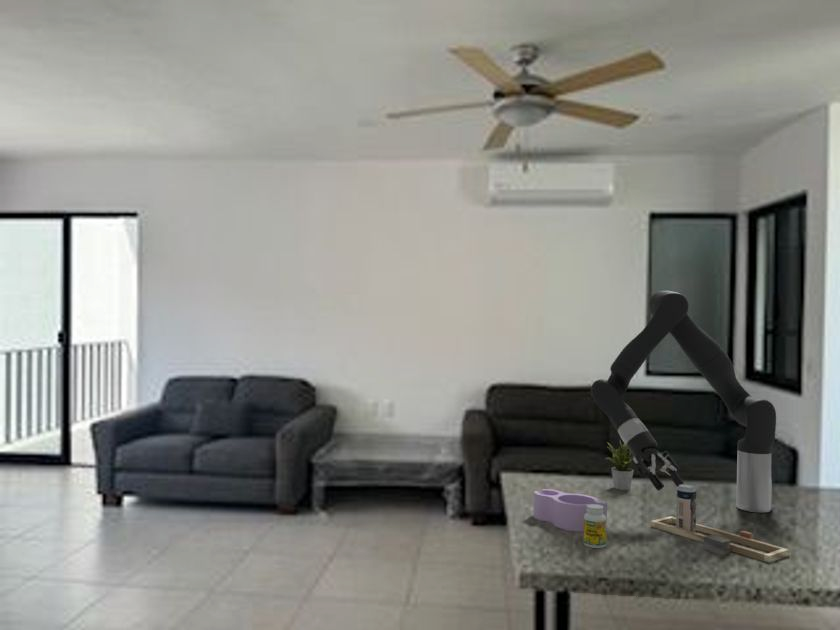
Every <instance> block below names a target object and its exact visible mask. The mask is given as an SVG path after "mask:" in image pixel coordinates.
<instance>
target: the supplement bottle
mask: <svg viewBox="0 0 840 630" xmlns="http://www.w3.org/2000/svg"><path fill="white" fill-rule="evenodd" d="M587 512H588V513H586V514H585V515H584V531H583V544H584V546H586V547H588V548H592V549H602V548H605V547H606V545H607V528H606V517H605V515H603V514H602V513H603V506H601V505H597V504H589V505H587Z"/></svg>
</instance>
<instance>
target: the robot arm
mask: <svg viewBox="0 0 840 630" xmlns="http://www.w3.org/2000/svg"><path fill="white" fill-rule="evenodd" d="M648 306H649V311H650V313H651V315H652V317H651V319H650V321H648V323H647V325H645V327H644V328H643V329H642V330H641V331H640V332H639V333H638V334H637V335H636V336H635V337H634V338H633V339H632V340H630V341H629V342H628V344H626V345H625V346H624V348H623V349H622V350H621V351H620V353H619V354H618V355H617V357H616V358H615V359H614V361H613V362H612V363H611V366H610V375H609V377H608V379H603V378H602V379H597V380H595V381H594V382H593V383H592V385H591V386H590V395H591V398H592V399H593V401H594V402H595V403H596V404H597V406H598V407H599V409H600V410H601V411H603V413H604V414H605V416H607V417H608V419H609V420H610V422H611V424H612V425H613V427H614V428H615V430H616V431H617V433H618V435H619V436H620V439H621V440H622V442H623V444H624V443H625V444H626V446H627V447H628V449H627V450H629V451H630V452H631V453H632V455H631V456H632V457H633V456H634V458H633V459H632V460H631V461H632V462H631V463H632V465H633V466H634V467H635V469H636V471H637V472H638V474H639V476H640V477H641V478H642V479H644V478H646V479H647V480H650V482H651V484H652V485H653V487H654V488H655V489H656V490H657V491H662V490H663V488H665V485H664V483H663V482H662V480H661V479H660V477H659V476H658V475H657V474H656V470H657V471H660V472H663V473H666V474H667V475H668V476H669V477H670V479H671V480H672V482H673V483H674V485H675V486H676V487H677V488H678V486H679V485H681V484H684V483H685V482H684V480H683V479H682V477H681V475H679V473H678V470H679V469H680V466H679V464H678V463H677V461H676V460H675V459H674V458H673V456H672V455H671V453H669V451H668V450H664V451H663V452H660V450H658V445H659V444H658V442H657V440H655V438H654V437H653V434H651V432H650V431H649V430H648V428H647V427H646V425H645V424H644V423H643V422H642V421H641V419H640V418H639V417H638V416H637V415H636V413H635V411H634V410H633V409H632V408H631V406H630V405H628V404H627V403H626V402H625V401H624V400H623V398H624V396H625V393H626V392H627V389H628V387H629V385H630V383H631V380H632V379H633V377H634V376H635V375H636V374H637V372H638V371H639V369H640V368H641V367H642V366H643V365H644V363H645V361H646V360H647V358H648V357H649V356H650V355H651V353H652V352H653V351H654V350H655V349H656V347H657V346H659V344H660V343H661V342H662V341H663V340H664V338H665V337H666V336H667V335H668V334H669V333H670V334H671V336H672V337H673V338H674V339H675V340H676V342H677V344H678V345H679V346H680V348H681V350H682V352H683V353H685V356H687V358H688V359H689V361H690V362H691V363H692V364H693V365H694V367H695V368H696V369H697V371H698V372H699V373H700V374H701V376H702V377H704V379H705V380H706V381H707V383H708V384H709V385H710V386H711V387H712V389H713V390H714V392H716V393H717V394H718V396H719V397H720V399H721V400H722V402H723V403H724V405H725V407H727V409H728V411H729V413H730V414H731V416H732V417H733V418H734V420H735V421H736V422H737V423H738V424H739V425H741V426H743V427H745V429H746V430H745V435H744V437H743V438H741V439H739V440H737V445H736V446H737V447H736V449H737V451H736V452H737V458H736V459H737V460H736V463H737V464H736V500H735V501H736V502H735V503H736V506H735V507H736V508H737V509H740V510H741V511H746V512H750V513H751V512H752V513H759V514H761V513H770V512H771V509H772V493H773V492H772V488H773V487H772V481H773V479H772V450H773V445H774V444H775V440H776V429H777V413H776V412H777V411H776V408H775V406H774V405H773V403H772V402H771V401H769V400H767V399H764V398H759V397H754V396H752V395H751V394H750V393H749V392H748V391H746V390H745V388H744V387H743V386H742V385H741V383H740V382H739V380H738V379H737V376H736V373H735V369H734V365H733V362H732V360H731V359H730V357H729V355H727V353H726V352H725V350H724V349H723V348H722V347H721V346H720V344H719V343H718V342H716V340H715V339H714V338H713V337H711V336H710V335H709V334H708V333H707V332H706V331H704V330H703V329H702V328H701V327H699V326H698V325H697V324H696V323H695V322H694V321H693V320H692V318H691V317H690V316H689V315H688V313H689V302H688V299H687V297H686V296H684V294H681V293H679V292H676V291H671V290H659V291H655V293H654V294H652V295H651V297H650V298H649V304H648ZM642 469H643V470H642Z"/></svg>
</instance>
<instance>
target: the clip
mask: <svg viewBox="0 0 840 630" xmlns="http://www.w3.org/2000/svg"><path fill="white" fill-rule="evenodd" d="M589 504H597V505H601V506H603V513H602V514H603V515H605V517H606V529H608V528H607V525H608V522H607V521H608V501H601V499H599V498H597V497H595V496H591V495H587V494H583V493H582V494H581V493H567V492H563V491H561V490H556V489H549V488H547V489H546V488H545V489H541V493H540V491H536V490H534V491H533V514H532V515H533V516H532V517H533V518H534V519H536V520H539V521H542V522H543V521H544V522H549V523H551V524H553V526H554V527H557V528H559V529H561V530H567V531H571V532H584V515H585V514H586V513H588V512H587V505H589Z"/></svg>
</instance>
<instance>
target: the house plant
mask: <svg viewBox="0 0 840 630" xmlns="http://www.w3.org/2000/svg"><path fill="white" fill-rule="evenodd" d="M620 439H621V438H619V439H618V440H619V444H620V446H619V447H618V448H616V449H615V448H614V446H613V445H611V444H610V443H609V442H607V444H608V450H610V452H611V453H612V457H605V458H604V460H610V462H612V464H614V467H611V475H612V481H613V488H614V489H616V490H621V491H629V490H631V486H632V482H633V481H632V480H633V477H634V476H633V475H634V469H632V468H630V467H629V465H630V463H632V461H631V460H632V459H633V458H634V456H633V455H632V453H631V452H630V450H629V449H628V447H627V446H626V444H625V443H624V442H623V444H622V442H621V440H620ZM628 450H629V451H628Z"/></svg>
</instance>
